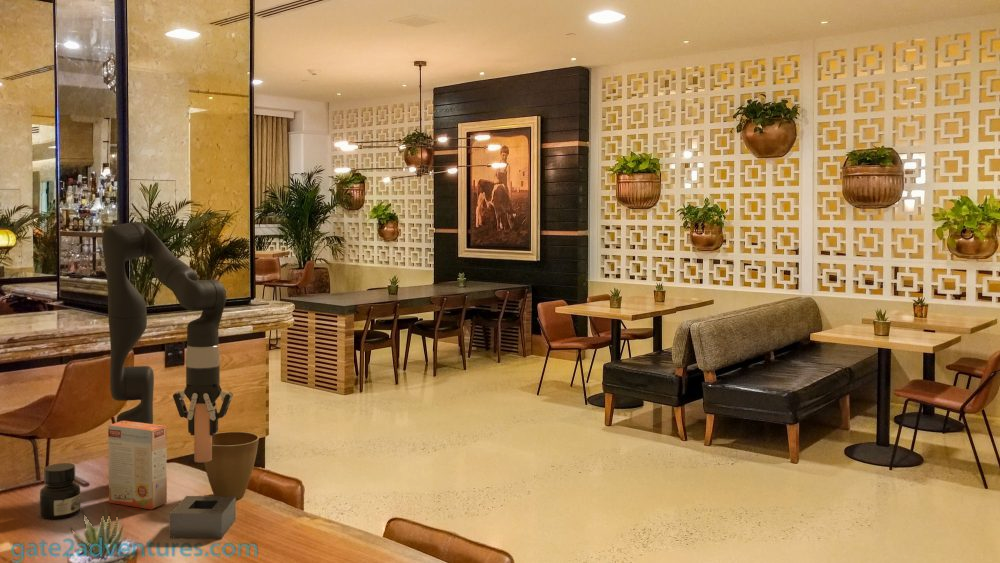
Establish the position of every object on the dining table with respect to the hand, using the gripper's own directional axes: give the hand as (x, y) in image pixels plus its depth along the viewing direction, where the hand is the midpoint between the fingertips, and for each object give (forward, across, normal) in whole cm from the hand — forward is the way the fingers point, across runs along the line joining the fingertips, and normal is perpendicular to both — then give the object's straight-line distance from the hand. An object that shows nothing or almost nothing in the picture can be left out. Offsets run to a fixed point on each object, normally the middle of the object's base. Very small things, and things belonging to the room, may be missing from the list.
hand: (203, 434), depth 198 cm
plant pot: (+24, 0, -23) cm, 33 cm away
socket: (+23, 0, 0) cm, 23 cm away
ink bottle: (+24, +38, -9) cm, 46 cm away
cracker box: (+24, +22, -17) cm, 36 cm away
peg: (+6, 0, 0) cm, 6 cm away
